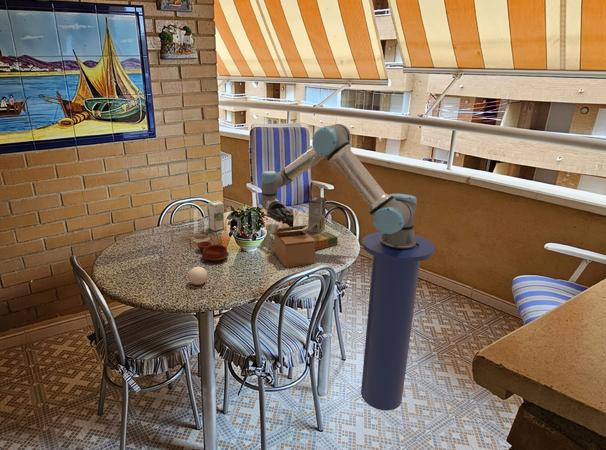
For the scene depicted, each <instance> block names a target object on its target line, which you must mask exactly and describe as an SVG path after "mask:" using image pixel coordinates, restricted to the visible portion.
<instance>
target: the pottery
mask: <svg viewBox="0 0 606 450" xmlns="http://www.w3.org/2000/svg"><path fill="white" fill-rule="evenodd" d="M196 246H197V248H198V249H199V250H200V251H201V252H202V253H201V257H202V258H203V259H204V260H207V261H210V262H215V263H217V262H220V261H222V260H224V259H226V258H228V257H229V255H230V254H229V251H228V249H227V248H228V247H226V246H224V245H221V244H213V245H212V243H211V241H200V242H198V243H197V244H196Z"/></svg>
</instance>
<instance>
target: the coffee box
mask: <svg viewBox="0 0 606 450" xmlns="http://www.w3.org/2000/svg"><path fill="white" fill-rule="evenodd" d="M326 201H327V198H326V197H321V196H315V195H314V196H312V198H311V199H309V200H308V216H307V217H308V218H307V219H308V220H307V225H308V226H307V232H311V233H316V234H319V233H322V231H323V230H324V229H325V227H326V204H327V203H326Z"/></svg>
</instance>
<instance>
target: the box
mask: <svg viewBox="0 0 606 450" xmlns="http://www.w3.org/2000/svg"><path fill="white" fill-rule="evenodd" d="M273 237H274V239H273V240H274V242H273V243H274V245H273V247H274V250H273V253H274V255H275V256H276V258H277V259H278V260H279V262H281V264H282V265H283V267H284V268H289V267H296V266H304V265H312V264H315V263H316V261H315V260H316V250H315V242H314V241H315V240H314V239H313V238H312V237H311V235H310V234H307V233H306V232H305V231H304V229H300V230H291V231H282V232H274V236H273Z"/></svg>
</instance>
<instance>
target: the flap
mask: <svg viewBox="0 0 606 450" xmlns="http://www.w3.org/2000/svg"><path fill="white" fill-rule="evenodd" d="M306 228H308V224H304V225H293V227H289V226H285V227H278V228H277V229H276V230H274V233H282V232H291V231H300V230H304V229H306Z"/></svg>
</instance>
